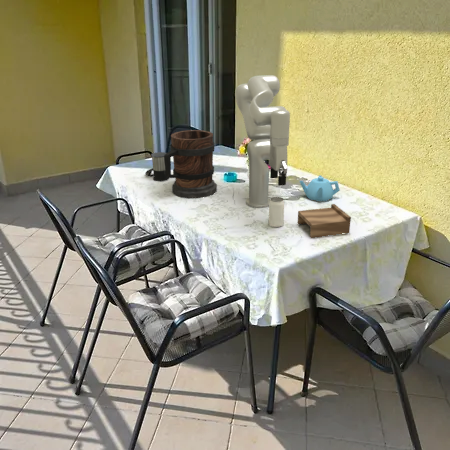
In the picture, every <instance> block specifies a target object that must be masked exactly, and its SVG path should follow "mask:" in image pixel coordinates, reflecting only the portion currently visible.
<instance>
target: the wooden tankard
mask: <svg viewBox="0 0 450 450" xmlns="http://www.w3.org/2000/svg"><path fill="white" fill-rule="evenodd" d="M170 142H171V144H170V146H169V147H170V151H168V152H165V153H166V154H165V155H164V163H165V173H166V177H168V178H169V179H175V180H174V183H173V184H172V186H171V192H172V194H173V195H174V196H176V197H178V198H182V199H188V200H189V199H190V200H191V199H203V197H204V198H207V197H211V196H213V195H215V194H216V193H217V192H218V184H217V183H216V182H215V180H214V179H213V175H214V174H215V167H214V165H213V164H214V162H213V161H214V159H213V158H214V155H213V154H214V151H215V142H214V133H213V132H211V131H208V130H202V129H201V130H200V129H199V130H198V129H189V130H181V131H175V132H174V133H173V132H172V133H171V135H170ZM170 157H171V158H172V159H173V169H172V166H171V167H170ZM172 173H173V174H172ZM214 193H215V194H214ZM210 195H211V196H210Z"/></svg>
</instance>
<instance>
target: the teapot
mask: <svg viewBox="0 0 450 450" xmlns="http://www.w3.org/2000/svg"><path fill="white" fill-rule="evenodd" d="M299 183H300V186H301V187H302V190H303V192H304V194H305V196H306V197H307V198H308V200H310V201H313V200H316V201H315V202H327V201H326V200H328V201H330V200H331V199H333V197H334V195H336V194H338V193H339V192H340V191H341V190H340V186H339V182H338V180H335V181H334V180H333V181H330V180H328V179H327V178H324V177H323V176H322V175H318V177H317V178H316V177H315V178H313V179H312V180H310V181H309V183H308V185H306V183H305V182H304V180H299ZM333 186H334V187H335V188H333ZM329 199H330V200H329Z"/></svg>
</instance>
